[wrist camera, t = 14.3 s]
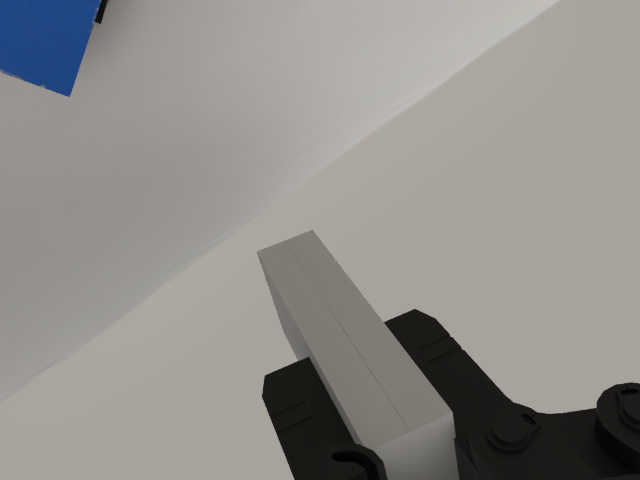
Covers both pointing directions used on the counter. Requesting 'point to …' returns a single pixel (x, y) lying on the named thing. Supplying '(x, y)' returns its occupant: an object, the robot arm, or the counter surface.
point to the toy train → (46, 39)
